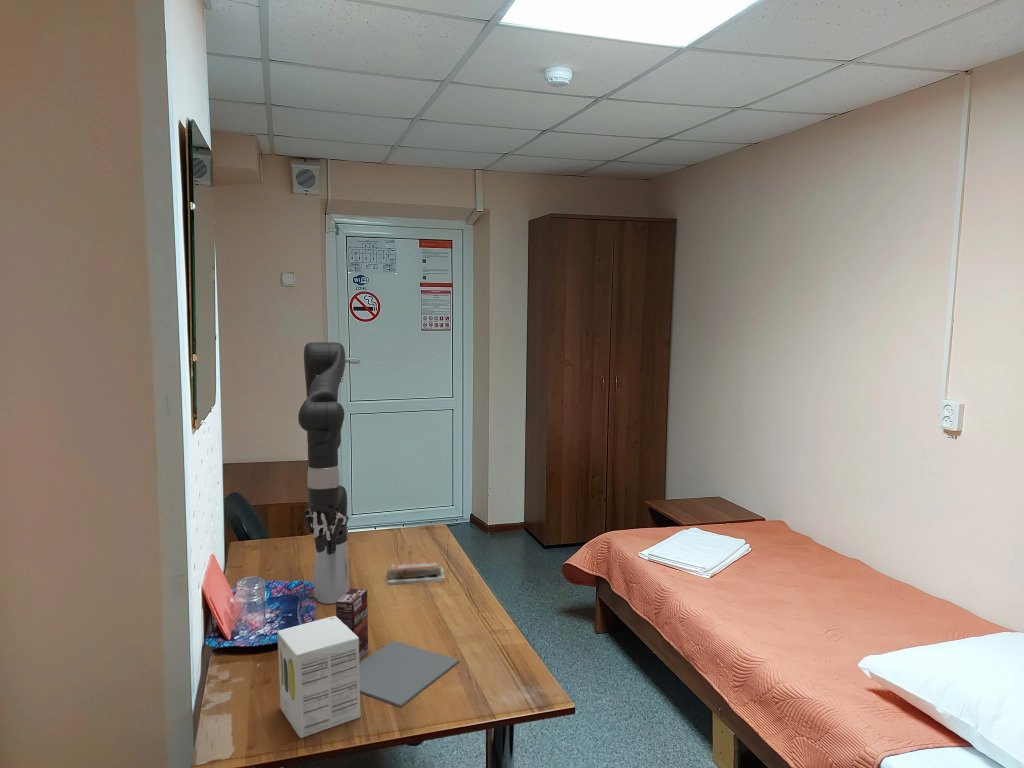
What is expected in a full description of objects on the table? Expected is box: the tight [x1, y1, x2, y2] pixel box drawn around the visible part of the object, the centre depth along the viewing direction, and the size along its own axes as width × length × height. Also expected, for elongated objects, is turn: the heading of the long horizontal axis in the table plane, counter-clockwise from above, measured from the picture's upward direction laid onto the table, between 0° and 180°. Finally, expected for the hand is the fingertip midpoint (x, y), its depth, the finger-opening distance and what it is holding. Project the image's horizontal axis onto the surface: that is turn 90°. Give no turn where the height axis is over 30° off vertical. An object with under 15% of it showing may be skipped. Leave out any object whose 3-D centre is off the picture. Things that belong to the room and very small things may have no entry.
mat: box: [359, 640, 460, 708], centre depth 164 cm, size 20×22×1 cm
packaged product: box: [386, 561, 446, 586], centre depth 221 cm, size 18×5×10 cm
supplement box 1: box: [276, 615, 362, 739], centre depth 146 cm, size 13×13×18 cm
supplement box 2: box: [335, 588, 369, 662], centre depth 170 cm, size 9×5×16 cm, turn 168°
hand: (326, 552), depth 172 cm, fingers open, 3 cm apart
